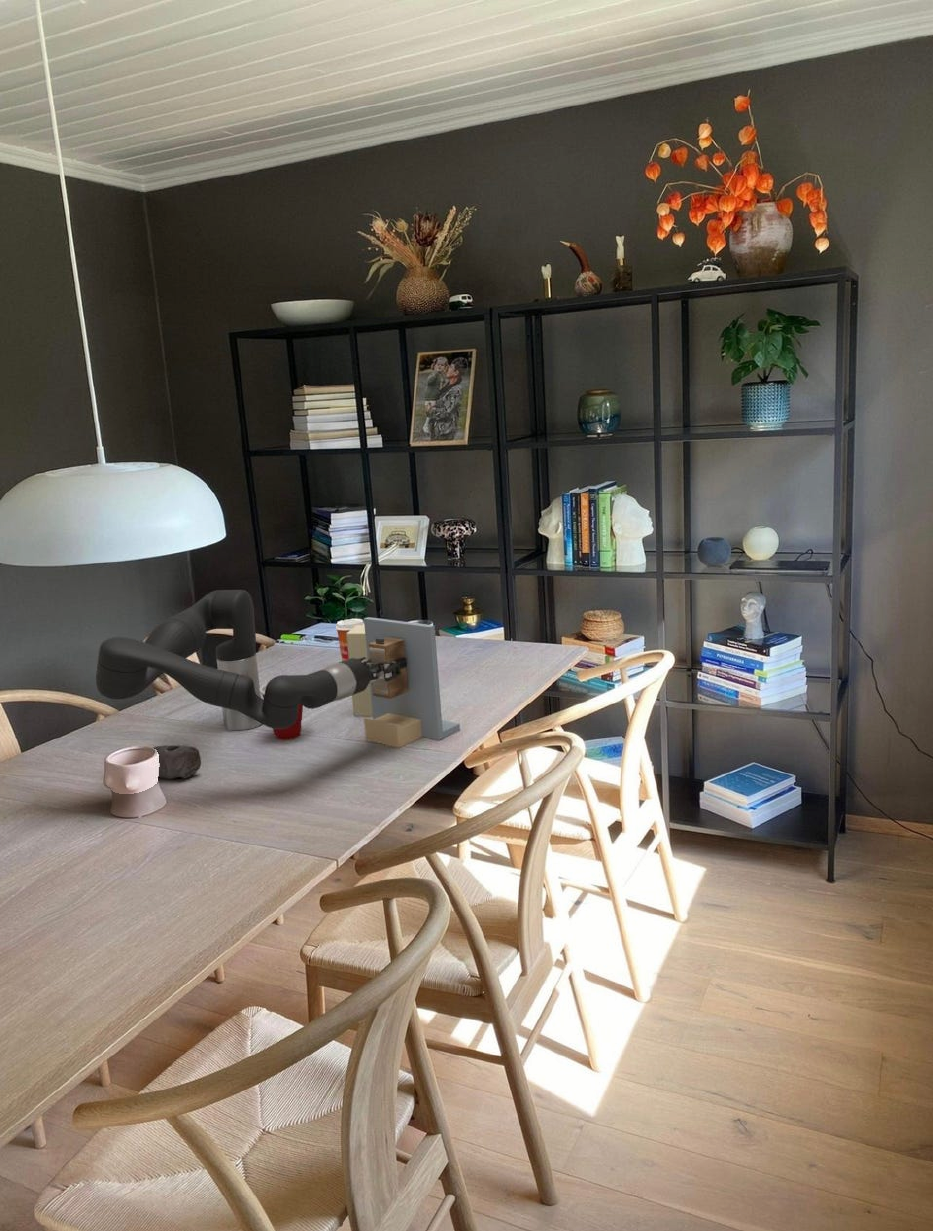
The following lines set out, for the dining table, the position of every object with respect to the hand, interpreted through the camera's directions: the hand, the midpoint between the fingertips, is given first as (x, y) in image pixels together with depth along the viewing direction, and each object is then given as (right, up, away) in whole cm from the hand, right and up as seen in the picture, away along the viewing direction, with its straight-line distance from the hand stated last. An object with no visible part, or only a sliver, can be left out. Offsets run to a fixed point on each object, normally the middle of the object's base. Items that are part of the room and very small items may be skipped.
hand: (396, 660), depth 209 cm
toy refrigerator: (-7, -14, +22) cm, 27 cm away
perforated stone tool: (-48, -24, -11) cm, 54 cm away
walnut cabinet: (-1, -7, 0) cm, 8 cm away
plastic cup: (-26, -18, +9) cm, 32 cm away
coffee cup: (-16, -6, +55) cm, 58 cm away
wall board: (+2, -17, +5) cm, 18 cm away
